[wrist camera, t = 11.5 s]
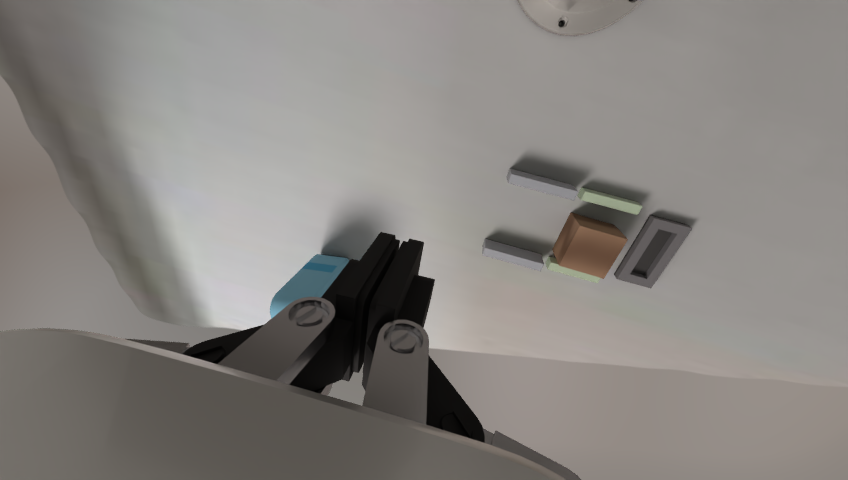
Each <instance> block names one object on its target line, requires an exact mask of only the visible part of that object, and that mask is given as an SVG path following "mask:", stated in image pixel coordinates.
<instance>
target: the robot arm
mask: <svg viewBox="0 0 848 480" xmlns="http://www.w3.org/2000/svg"><path fill="white" fill-rule="evenodd" d="M642 1H643V0H632V1H631V2H629V0H518V3H519V5H520V6H521V8H522V9H523V11H524V12H525V14H526V15H527V16H528V17H529V18H530V19H531V20H532V21H533V22H534V23H535V24H536V25H538V26H539V27H541V28H543V29H545V30H546V31H548V32H552V33H555V34H558V35H566V36H578V35H585V34H590V33H593V32H595V31H598V30H601V29H604V28H606V27H608V26H610V25H612V24H614V23H615V22H617V21H618V20H620V19H621V18H623V17H624V16H626V15H627V14H629V13H630V12H631V11H632V10H633V9H635V8H636V7H637V6H638V5H639V4H640V3H641V2H642ZM559 21H563V22H564V25H563V27H559ZM399 243H400V241H399V240H396V239H395V235H391V234H387V233H383V232H380V234H379V235H378V236H377V238H376V239H375V241H374V242H373V243H372V245H371V246H370V247H369V249H368V250H367V252H366V253H365V254H364V256H363V257H362V259H361V260H360V261H358V260H353V259H352V260H350V261H349V262H348V263H347V265H346V266H345V267H344V269H343V270H342V271H341V272H340V274H339V275H338V276H337V278H336V279H335V280H334V281H333V283H332V284H331V285H330V287H329V288H328V289H327V290H326V292H325V293H324V294H323V296H322V297H321V298H320V297H304V298H300V299H297V300H295V301H293V302H292V303H290V304H289V305H287V306H286V307H285V308H284V309H283V310H281V311H280V312H279V313H278V314H277V315H275V316H274V317H273V318H272V319H271V320H269V321H268V322H267V323H266V324H265V325H261V326H258V327H254V328H251V329H247V330H243V331H240V332H236V333H232V334H229V335H225V336H222V337H218V338H215V339H211V340H207V341H204V342H201V343H199V344H196V345H194V346H193V347H190V345H189V343H180V342H165V341H150V340H135V339H121V338H117V337H112V336H107V335H103V334H98V333H92V332H85V331H78V330H68V329H50V328H38V329H17V330H6V331H0V480H581V479H580V478H579V477H578V476H577V475H576V474H575V473H573V472H572V471H571V470H569V469H568V468H566V467H564V466H562V465H560V464H558V463H557V462H554V461H553V460H551V459H549V458H547V457H545V456H543V455H541V454H539V453H538V452H536V451H534V450H532V449H530V448H528V447H526V446H524V445H522V444H520V443H519V442H517V441H515V440H513V439H511V438H509V437H507V436H505V435H503V434H501V433H500V432H498V431H495V433H494V434H493V433H491V432H489V431H487V430H485V429H483V427H482V425H481V423H480V422H479V420H478V418H477V417H476V415H475V414H474V413H473V412H472V410H471V409H470V408H469V406H468V405H467V404H466V403H465V401H464V400H463V399H462V397H461V396H460V395H459V394H458V392H457V391H456V390H455V388H454V387H453V386H452V385H451V383H450V382H449V381H448V379H447V378H446V377H445V376H444V374H443V373H442V372H441V370H440V369H439V368H438V367H437V365H436V364H435V363H434V361H433V360H432V359H431V358H430V356H429V354H428V353H429V339H428V335H427V333H426V331H425V330H424V329H423V327H424V324H425V320H426V316H427V312H428V308H429V304H430V300H431V295H432V291H433V286H434V281H435V279H431V278H427V277H423V276H419V275H418V272H419V267H420V261H421V256H422V251H423V245H424V242H421V241H417V240H413V239H409V241H408V242H405V241H403V243H402V244H401V246H400V248H399ZM363 363H364V366H363V380H362V385H363V387H364V389H365V396H364V400H363V405H362V406H361V405H357V404H353V403H350V402H347V401H343V400H340V399H337V398H333V397H330V396H328V394H329V393H330V391H331V388H332V384H333V383H334V382H336V381H339V380H341V379H342V380H346V381H349V380H350V378H351V376H352V374H353V372H359V371H360V369H361V367H362V365H363Z"/></svg>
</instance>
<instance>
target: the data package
mask: <svg viewBox="0 0 848 480" xmlns="http://www.w3.org/2000/svg"><path fill="white" fill-rule="evenodd" d="M348 262H349V260H348V259H347V258H343V257H335V256H327V255H319V254H317V255H315V256H314V257H313V258H312V259H311V260H310V261H309V262H308V263H307V264H306V265H305V266H304V267H303V268H302V269H301V270H300V271H299V272H298V273H297V274H296V275H295V276H294V277H293V278H291V279H290V280H289V281H288V282H287V283H286V284H285V285H284V286H283V287H282V288H281V289H280V290H279V291H278V292H277V293H276V294H275V296H274V297H273V299H272V302H271V306H270V314H271V318H273V317H274V316H275V315H277V314H278V313H279V312H280V311H281V310H283V309H284V308H285V307H286V306H287V305H289V304H290V303H292V302H293V301H295V300H297V299H300V298H304V297H320V298H321V297H322V296H323V294H324V293H325V292H326V290H327V289H328V288H329V287H330V285H331V284H332V283H333V281H334V280H335V279H336V278H337V276H338V275H339V274H340V272H341V271H342V270H343V269H344V267H345V266H346V265H347V263H348Z"/></svg>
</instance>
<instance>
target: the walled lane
mask: <svg viewBox="0 0 848 480" xmlns="http://www.w3.org/2000/svg"><path fill="white" fill-rule="evenodd" d="M507 180H508V183H509V184H513V185H517V186H521V187H525V188H528V189H532V190H536V191H540V192H543V193H547V194H551V195H555V196H559V197H562V198H566V199H570V200H575V198H576V195H577V193H578V191H577V190H576V188H575V187H574V186H573V185H571V184H567V183H563V182H560V181H556V180H552V179H548V178H544V177H540V176H537V175H533V174H529V173H525V172H521V171H518V170H514V169H509V172H508V175H507ZM482 255H484V256H488V257H491V258H495V259H498V260H502V261H506V262H509V263H513V264H516V265H520V266H523V267H527V268H531V269H534V270H538V271H541V270H542V268H543V265H544V263H543V260H542V256H541V254H539V253H535V252H531V251H528V250H524V249H521V248H517V247H513V246H510V245H506V244H502V243H499V242H495V241H492V240H488V239H485V240H484V243H483V254H482Z"/></svg>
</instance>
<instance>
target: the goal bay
mask: <svg viewBox="0 0 848 480" xmlns="http://www.w3.org/2000/svg"><path fill="white" fill-rule="evenodd" d="M578 197H579V198H580V199H581V200H583V201H586V202H590V203H594V204H598V205H602V206H605V207H609V208H613V209H617V210H620V211H624V212H628V213H632V214H636V215H638V213H639V212H640V210H641V208H642V207H643V206H641V205H640V204H639V203H638V202H636V201H632V200H628V199H624V198H621V197H617V196H613V195H609V194H605V193H601V192H598V191H594V190H590V189H586V188H582V187H581V189H580V191H579V194H578ZM546 266H547V269H548V270H552V271H555V272H559V273H563V274H566V275H570V276H573V277H577V278H581V279H584V280H588V281H591V282H595V283H598V282H599V280H600V278H599V277H596V276H593V275H589V274H586V273H582V272H579V271H576V270H572V269H569V268H565V267H562V266H559V265H558V262H557V260H556V258H553V257H548V259H547V261H546Z"/></svg>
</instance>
